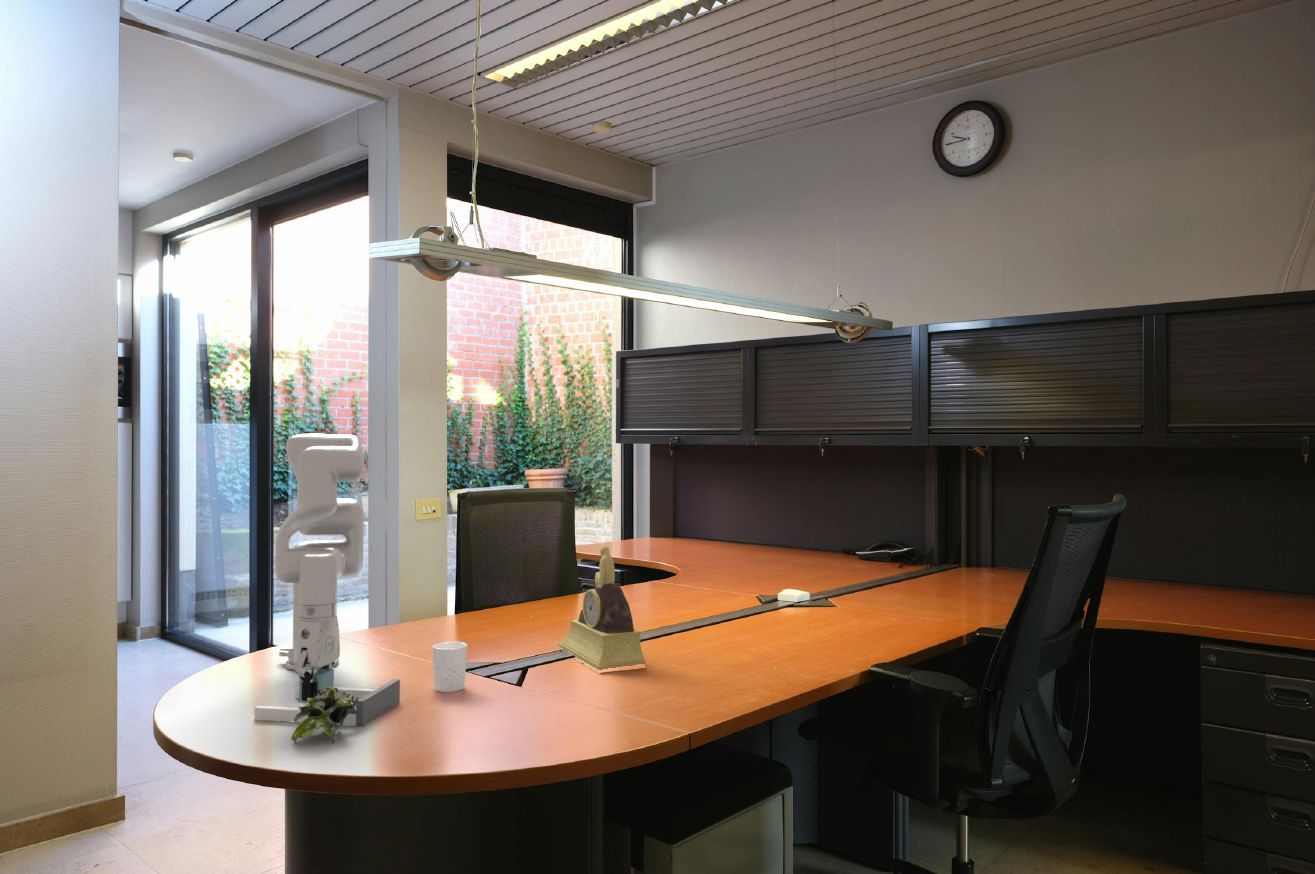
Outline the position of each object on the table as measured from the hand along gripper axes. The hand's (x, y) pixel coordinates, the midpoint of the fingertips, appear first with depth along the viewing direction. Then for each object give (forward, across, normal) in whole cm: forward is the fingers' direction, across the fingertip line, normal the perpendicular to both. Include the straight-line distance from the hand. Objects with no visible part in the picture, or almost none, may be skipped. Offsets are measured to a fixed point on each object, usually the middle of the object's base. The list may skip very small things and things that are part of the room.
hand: (316, 696), depth 187 cm
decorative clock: (+3, +56, -49) cm, 74 cm away
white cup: (+3, +21, -21) cm, 30 cm away
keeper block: (+1, 0, 0) cm, 1 cm away
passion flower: (+3, -16, -11) cm, 20 cm away
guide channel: (+3, 0, -3) cm, 4 cm away
